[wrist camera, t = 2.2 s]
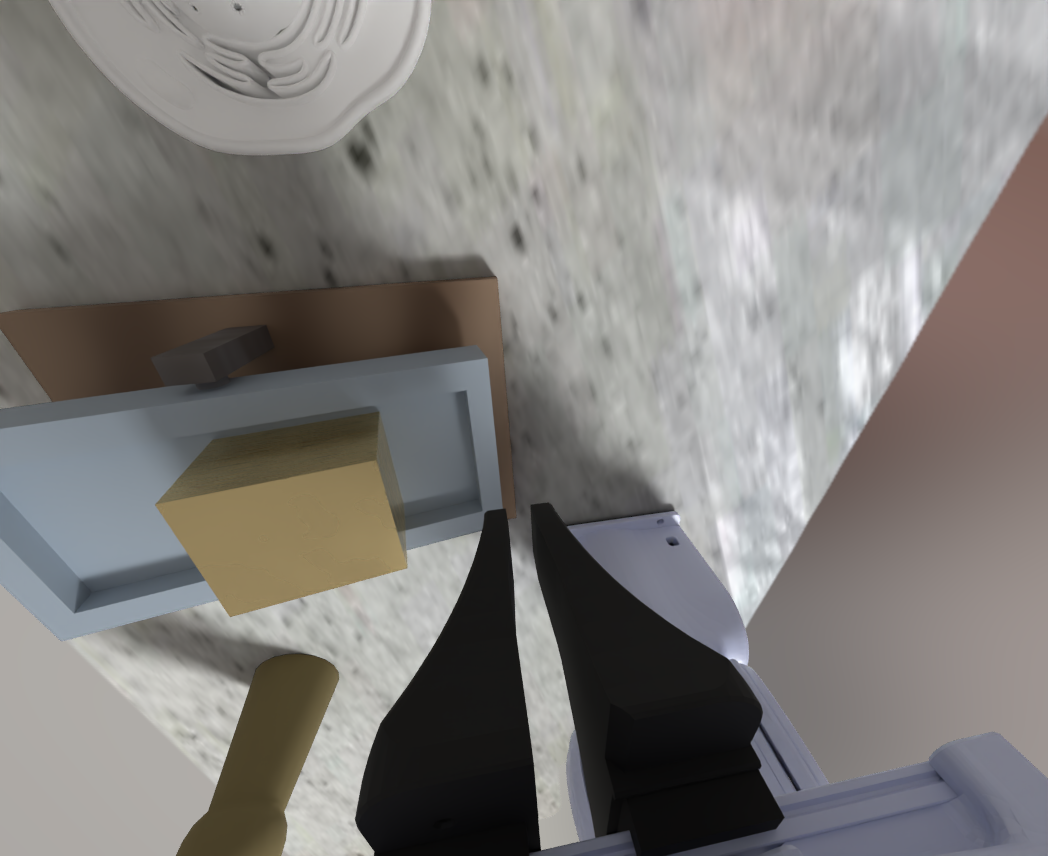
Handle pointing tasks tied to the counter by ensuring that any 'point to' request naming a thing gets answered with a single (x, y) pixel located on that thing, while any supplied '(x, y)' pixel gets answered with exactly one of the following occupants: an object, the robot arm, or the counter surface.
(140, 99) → the cell model
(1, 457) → the beam
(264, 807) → the cork
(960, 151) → the counter surface
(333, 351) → the stand
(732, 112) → the counter surface
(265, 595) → the block
